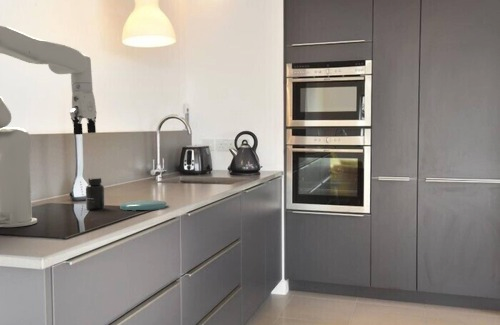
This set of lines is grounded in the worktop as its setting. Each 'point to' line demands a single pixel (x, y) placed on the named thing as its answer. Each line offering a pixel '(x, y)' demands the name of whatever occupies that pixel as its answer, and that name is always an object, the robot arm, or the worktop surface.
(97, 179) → the supplement bottle
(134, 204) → the dish
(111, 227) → the worktop surface
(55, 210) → the worktop surface
